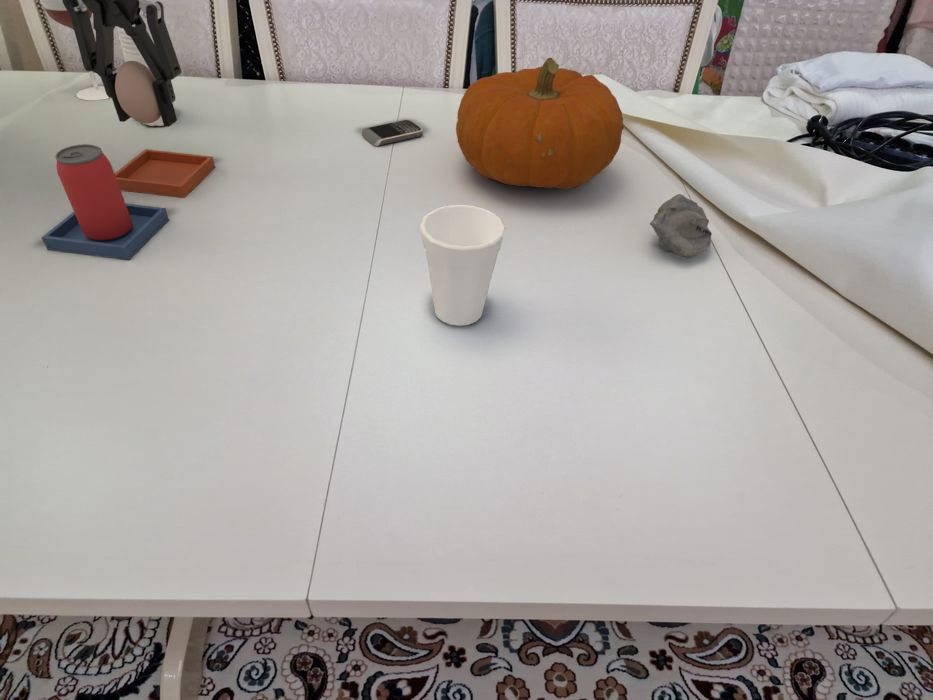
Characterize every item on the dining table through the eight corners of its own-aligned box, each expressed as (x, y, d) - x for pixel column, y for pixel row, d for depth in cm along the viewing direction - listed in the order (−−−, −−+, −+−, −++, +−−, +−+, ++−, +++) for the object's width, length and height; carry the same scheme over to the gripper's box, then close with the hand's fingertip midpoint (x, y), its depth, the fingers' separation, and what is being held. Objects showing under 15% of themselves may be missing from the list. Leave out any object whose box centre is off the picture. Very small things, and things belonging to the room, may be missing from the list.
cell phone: (425, 136, 121) (425, 129, 120) (375, 148, 116) (375, 140, 115) (409, 125, 125) (409, 118, 124) (360, 136, 120) (359, 129, 119)
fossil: (674, 275, 89) (690, 227, 84) (626, 247, 94) (638, 200, 89) (719, 251, 94) (736, 204, 89) (671, 226, 100) (685, 180, 94)
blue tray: (47, 249, 86) (41, 237, 85) (94, 210, 95) (89, 199, 93) (129, 260, 86) (124, 247, 84) (169, 219, 94) (165, 208, 92)
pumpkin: (627, 163, 116) (654, 50, 103) (586, 230, 97) (612, 102, 84) (489, 131, 124) (497, 23, 111) (426, 187, 105) (427, 65, 92)
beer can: (84, 223, 91) (51, 145, 83) (133, 216, 93) (105, 139, 85) (83, 246, 87) (48, 166, 78) (134, 238, 89) (105, 159, 81)
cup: (436, 345, 75) (438, 255, 67) (409, 298, 82) (407, 211, 73) (509, 327, 79) (520, 239, 70) (477, 283, 85) (483, 198, 76)
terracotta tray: (112, 189, 100) (108, 178, 98) (149, 159, 108) (145, 149, 107) (184, 197, 99) (181, 186, 98) (215, 167, 107) (212, 156, 106)
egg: (133, 114, 99) (113, 53, 93) (175, 114, 100) (159, 54, 94) (120, 130, 94) (99, 68, 88) (165, 130, 95) (147, 69, 89)
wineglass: (89, 83, 133) (47, -34, 118) (130, 88, 132) (94, -30, 118) (63, 98, 127) (16, -25, 112) (107, 102, 126) (65, -20, 111)
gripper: (180, -51, 84) (218, 118, 99) (45, -62, 85) (104, 106, 100) (151, -40, 78) (196, 136, 93) (8, -52, 80) (75, 123, 95)
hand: (148, 120), depth 97 cm, fingers closed on egg, 7 cm apart
